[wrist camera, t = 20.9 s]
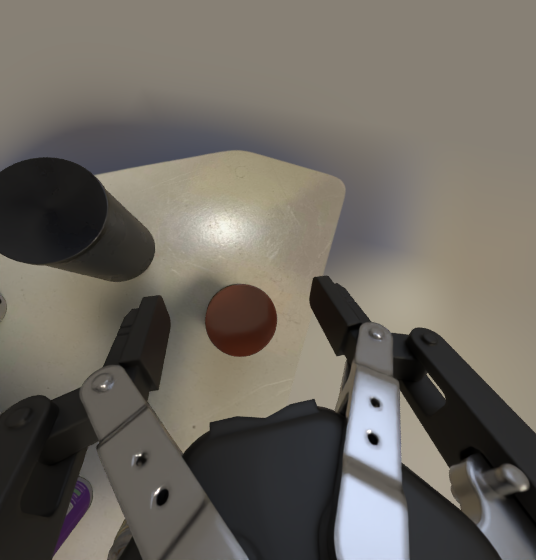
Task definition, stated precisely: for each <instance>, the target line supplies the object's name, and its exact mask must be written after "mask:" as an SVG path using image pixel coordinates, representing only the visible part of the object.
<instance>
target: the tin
mask: <svg viewBox="0 0 536 560" xmlns="http://www.w3.org/2000/svg"><path fill="white" fill-rule="evenodd" d="M154 253H155V243H154V240H153V237H152V235H151V233H150V232H149V231H148V229H147V228H146V227H145V226H144V225H143V224H142V223H140V222H139V221H138V220H137V219H136V218H135V217H134V216H133V215H132V214H131V213H130V212H129V211H128V210H127V209H126V208H125V207H124V206H122V205H121V204H120V203H119V202H118V201H117V200H116V199H115V198H114V197H113V196H112V195H111V194H110V193H109V192H108V191H107V190H106V189H105V187H104V186H103V185H102V183H101V182H100V181H99V180H98V179H97V178H96V177H95V176H94V175H93V174H92V173H91V172H89V171H88V170H87V169H85V168H84V167H82V166H80V165H78V164H76V163H74V162H71V161H67V160H64V159H59V158H48V157H46V158H45V157H43V158H33V159H28V160H24V161H21V162H18V163H15V164H13V165H12V166H9V167H7V168H5V169H4V170H2V171H1V172H0V254H2V255H4V256H6V257H8V258H10V259H13V260H15V261H18V262H23V263H27V264H32V265H45V266H50V267H54V268H58V269H62V270H66V271H70V272H74V273H78V274H82V275H87V276H91V277H95V278H99V279H103V280H107V281H113V282H121V281H127V280H130V279H133V278H135V277H137V276H139V275H140V274H142V273H143V272H144V271H145V270H146V269H147V268H148V267H149V265H150V264H151V262H152V260H153V257H154Z"/></svg>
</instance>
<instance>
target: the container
mask: <svg viewBox="0 0 536 560" xmlns="http://www.w3.org/2000/svg"><path fill="white" fill-rule="evenodd" d="M92 498H93V491H92V487H91V485H90V483H89V482H88V481H87V480H85V479H83V478H81V477H78V479H77V482H76V486H75V489H74V492H73V495H72V498H71V501H70V504H69V508H68V511H67V514H66V517H65V520H64V523H63V526H62V529H61V533H60V536H59V539H58V542H57V545H56V548H55V551H54V554H53V556H54V555H55V553H56V552H57V551H58V549H59V548H60V546H61V545H62V544H63V542H64V541H65V540H66V538H67V537H68V536H69V534H70V533H71V532H72V530H73V529H74V528H75V526H76V525H77V523H78V522H79V521H80V519H81V518H82V517H83V515H84V514H85V513H86V511H87V510H88V508H89V507H90V505H91V502H92Z"/></svg>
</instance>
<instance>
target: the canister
mask: <svg viewBox="0 0 536 560" xmlns="http://www.w3.org/2000/svg"><path fill="white" fill-rule="evenodd" d="M205 326H206V331H207V334H208V336H209V338H210V340H211V342H212V343H213V344H214V346H216V347H217V348H218V349H219V350H220V351H222V352H224V353H226V354H228V355H231V356H237V357H244V356H250V355H253V354H255V353H257V352H259V351H260V350H262V349H263V348H264V347H265V346H266V345H267V344H268V343H269V342H270V340H271V339H272V337H273V335H274V333H275V330H276V326H277V314H276V309H275V306H274V304H273V302H272V301H271V299H270V298H269V296H268V295H267V294H266V293H265V292H263V291H262V290H261V289H259V288H257V287H254V286H251V285H246V284H238V285H233V286H229V287H227V288H225V289H223V290H222V291H220V292H219V293H218V294H217V295H216V296H215V297H214V298H213V299H212V301H211V302H210V304H209V306H208V308H207V312H206V317H205Z"/></svg>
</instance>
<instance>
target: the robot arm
mask: <svg viewBox="0 0 536 560" xmlns="http://www.w3.org/2000/svg"><path fill="white" fill-rule="evenodd" d="M309 301H310V306H311V309H312V310H313V312H314V314H315V316H316V318H317V320H318V322H319V324H320V326H321V328H322V329H323V331H324V333H325V335H326V337H327V339H328V341H329V343H330V345H331V347H332V348H333V350H334V352H335V354H336V356H340V355H345V357H346V358H347V360H346V363H345V368H344V373H343V378H342V383H341V388H340V393H339V398H338V401H337V404H336V407H335V411H334V410H331V409H328V408H325V407H319V406H317V405H316V402H315V399H312V400H307V401H303V402H298V403H294V404H290V405H289V406H286V407H285V408H283V409H281V410H279V411H278V412H276V413H274V414H272V415H270V416H269V417H266V418H256V417H240V416H236V417H232V418H228V419H223V420H219V421H214V422H210V431H208V432H207V433H205V434H203V435H202V436H201V437H199V438H198V439H197V440H196V441H195V442H193V443H192V444H191V445H190V447H189V448H188V449H187V450H186V451H185V452H184V454H183V453H182V451H181V450H180V448H179V447H178V446H177V444H176V443H175V441H174V440H173V438H172V437H171V436H170V434H169V433H168V431H167V430H166V428H165V427H164V425H163V424H162V422H161V421H160V419H159V418H158V416H157V415H156V413H155V412H154V410H153V409H152V407H151V406H150V404H149V403H148V401H147V400H148V396H149V391H154V390H159V385H160V380H161V375H162V369H163V364H164V359H165V354H166V348H167V343H168V338H169V333H170V327H171V322H170V317H169V314H168V311H167V309H166V306H165V303H164V301H163V298H162V296H161V295H156V296H148V297H143V298H142V300H141V303H140V306H139V308H136V309H132V310H131V311H130V312H129V313H128V314H127V315H126V316H125V317H124V319H123V322H122V324H121V326H120V329H119V331H118V333H117V336H116V338H115V340H114V342H113V345H112V347H111V349H110V352H109V354H108V356H107V359H106V361H105V363H104V365H103V367H102V368H101V369H99V370H97V371H95V372H94V373H93V374H91V375H90V376H89V377H88V378H87V379H86V380H85V382H84V383H83V385H82V386H81V387H80V388H78V389H76V390H74V391H71V392H69V393H67V394H64V395H62V396H60V397H57V398H55V399H53V400H50V399H49V398H47V397H46V396H43V395H36V396H31V397H28V398H26V399H23V400H21V401H19V402H18V403H16V404H14V405H13V406H11V407H10V408H9V409H8V410H6V411H5V412H4V413H3V414H2V415H1V416H0V560H52V558H53V554H54V551H55V548H56V545H57V542H58V539H59V536H60V533H61V529H62V526H63V523H64V520H65V517H66V514H67V511H68V508H69V504H70V501H71V498H72V495H73V492H74V489H75V486H76V482H77V479H78V476H79V473H80V470H81V467H82V464H83V461H84V457H85V454H86V451H87V448H88V446H90V445H92V444H94V443H96V442H98V441H99V444H98V445H97V452H98V455H99V458H100V460H101V462H102V465H103V467H104V470H105V472H106V474H107V477H108V479H109V481H110V484H111V486H112V488H113V491H114V493H115V495H116V498H117V500H118V503H119V505H120V507H121V510H122V512H123V514H124V517H125V519H126V521H127V524H128V526H129V529H130V531H131V533H132V538H131V539H130V541H129V542H128V544H127V546H126V547H125V549H124V551H123V552H122V554H121V556H120V557H119V559H118V560H536V433H535V432H534V431H533V430H532V429H531V428H530V427H529V426H528V425H527V424H526V423H525V422H524V421H523V420H522V419H521V418H520V417H519V416H518V415H517V414H516V413H515V412H514V411H513V410H512V409H511V408H510V407H509V406H508V405H507V404H506V403H505V402H504V401H503V400H502V399H501V398H500V397H499V395H498V394H497V393H496V392H495V391H494V390H493V389H492V388H491V387H490V386H489V385H488V384H487V383H486V382H485V381H484V380H483V379H482V378H481V377H480V376H479V375H478V374H477V373H476V372H475V371H474V370H473V369H472V368H471V367H470V366H469V365H468V364H467V363H466V362H465V361H464V360H463V359H462V358H461V356H459V354H458V353H457V352H456V351H455V350H454V349H453V348H452V347H451V346H450V345H449V344H448V343H447V342H446V341H445V340H444V339H443V338H442V337H441V336H440V335H438V334H437V333H435V332H433V331H431V330H429V329H426V328H415V329H413V330H412V331H411V333H410V334H409V335H406V334H397V333H390V331H389V330H388V329H386V328H385V327H384V326H382V325H380V324H378V323H374V322H371V321H370V320H369V318H368V317H367V316H366V314H365V313H364V312H363V311H362V309H361V308H360V307H359V305H358V304H357V303H356V302H355V301H354V299H353V298H352V297H351V296H350V294H349V293H348V291H347V290H346V289H345V288H344V287H342V286H341V285H339V284H338V283H336V284H334V283H333V282H332V280H331V279H330V278H329V276H319V277H314V278H313V281H312V286H311V292H310V298H309ZM427 373H429V375H430V376H431V377H432V379H433V380H434V381H435V382H436V384H437V385H438V386H439V388H440V389H441V390H442V392H443V393H444V395H445V398H446V400H445V398H444V397H443V396H442V394H441V393H440V392H439V391H438V389H437V388H436V387H435V385H434V384H433V383H432V382H431V380H430V379H429V378H428V376H427V375H426V374H427ZM400 391H401V392H402V394H403V395H404V397H405V399H406V400H407V402H408V403H409V405H410V407H411V408H412V410H413V411H414V413H415V414H416V416H417V418H418V419H419V421H420V422H421V424H422V426H423V427H424V429H425V430H426V432H427V433H428V435H429V436H430V438H431V440H432V441H433V443H434V444H435V446H436V448H437V449H438V451H439V452H440V454H441V456H442V457H443V459H444V460H445V462H446V463H447V465H448V466H449V468H450V470H449V478H450V482H451V492H452V495H453V497H454V498H455V499H456V501H457V502H458V503H460V506H461V510H460V509H459V508H457V507H456V506H455V505H454V504H452V503H451V502H450V501H449V500H448V499H446V498H445V497H444V496H442V495H441V494H440V493H439V492H438V491H436V490H435V489H434V488H433V487H431V486H430V485H429V484H428V483H426V482H425V481H424V480H423V479H421V478H420V477H419V476H418V475H416V474H415V473H414V472H413V471H411V470H410V469H409V468H408V467H407V466H405V465H404V464H403V463H402V462H401V431H400Z"/></svg>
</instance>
